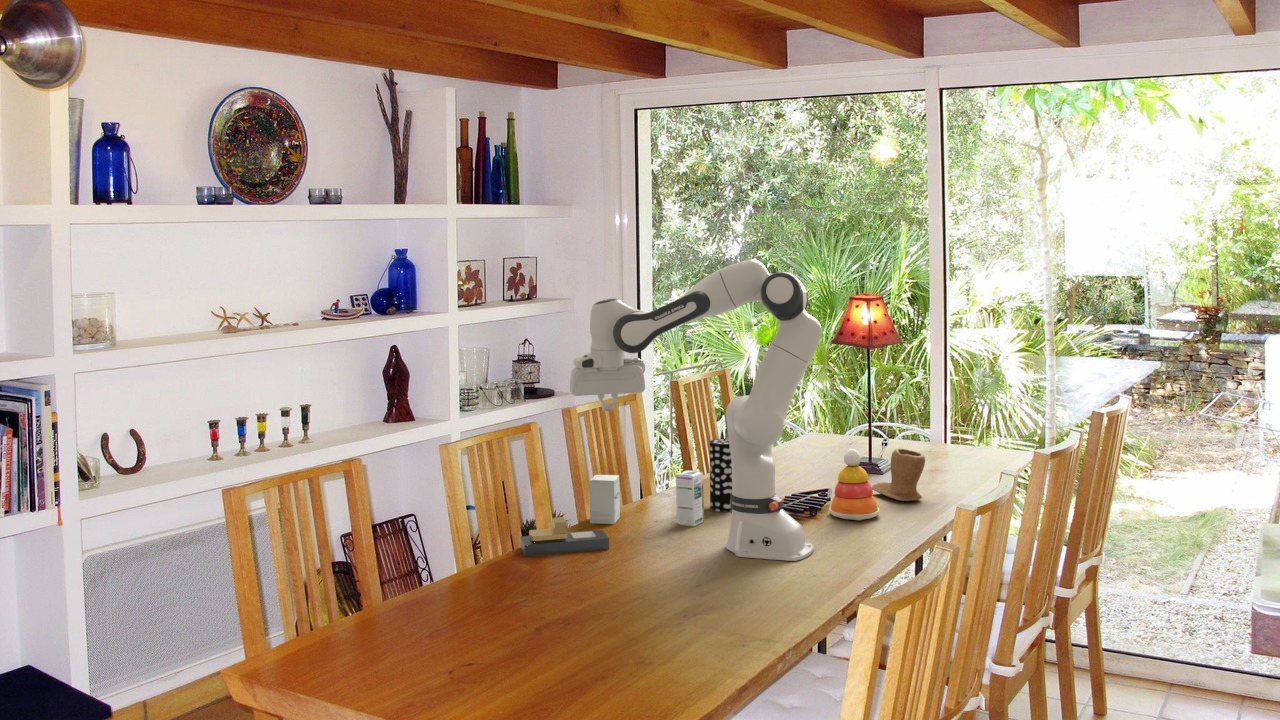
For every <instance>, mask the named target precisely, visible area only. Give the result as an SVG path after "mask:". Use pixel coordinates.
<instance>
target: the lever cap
mask: <svg viewBox="0 0 1280 720" xmlns="http://www.w3.org/2000/svg"><path fill="white" fill-rule="evenodd" d="M567 524H568V523H567V521H566V519H565V518H564V517H563V516H559V517H558V516H557V517H551V526H552V527H551V528H541V529H539V528H538V529H528V530H529V532H528V533H529V535H528V536H530V537H531V539H532V541H540V540H552V539H564V538H567V533H568V531H567V530H568V528H567V527H568V525H567Z"/></svg>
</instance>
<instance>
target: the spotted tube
mask: <svg viewBox="0 0 1280 720" xmlns="http://www.w3.org/2000/svg"><path fill="white" fill-rule="evenodd" d="M731 493H732V461H731V453H730V446H729V438H716V439H711V440H709V506H710V507H709V509H711V510H712V511H714V512H720V513H721V512H722V513H725V512H731V511H730V498H731Z"/></svg>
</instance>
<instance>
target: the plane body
mask: <svg viewBox="0 0 1280 720" xmlns="http://www.w3.org/2000/svg"><path fill="white" fill-rule="evenodd" d="M534 542H535V543H534ZM527 545H528V546H527ZM520 550H521V551H523V552H522V554H523V553H524V554H523V556H524V557H525V556H526V557H536V556H537V555H538V556H547V555H549V556H550V555H557V554H556V553H561V554H571V553H570V552H573V553H582V552H584V553H585V552H594V551H595V552H596V551H605V550H606V551H607V550H610V538H609V536H608V535H607V534H606V532H605V531H604V530H603V529H600V530H586V531H574V532H567V538H564V539H552V540H540V541H532V539H531V537H530V535H526V536H525V535H524V536H520ZM538 556H537V557H538Z"/></svg>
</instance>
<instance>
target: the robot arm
mask: <svg viewBox="0 0 1280 720" xmlns="http://www.w3.org/2000/svg"><path fill="white" fill-rule="evenodd" d="M808 297H809V296H808V294H807V290H806V287H805V286H804V284H803V283H802V281H801V280H800V279H799V278H798V277H797V276H796V275H795V274H793V273H791V272H788V271H776V272H774V273H772V274H770V272H769V270H768V269H767V267H766V266H765V265H764V263H762V261H761V260H758V259H755V258H749V259H746V260H742V261H739V262H736V263H732V264H730V265H727V266H725V267H722V268H720V269H717V270H716V271H714V272H712V273H710V274H708V275H707V276H705V277H703V278H702V279H701V280H699V281H698V282H697V283H695V285H693V286H692V287H691V288H690V289H689V290H688V291H687V292H685V293H684V294H683V295H681V296H680V297H679V298H677V299H675V300H674V301H671V302H669V303H667V304H665V305H662V306H661V307H658V308H656V309H654V310H651V311H649V312H648V311H644V310H641V309H637V308H635V307H633V306H630V305H628V304H626V303H624V302H623V301H622V300H621V299H619V298H607V299H603V300H599V301H597V302H595V303H594V304H593V305H592V307H591V311H590V318H589V319H590V320H589V333H590V337H591V342H590V343H591V344H590V352H589V353H586V354H584V355H581V356H577V357H576V358H574V359H573V365H574V367H573V369H572V370H571V373H570V378H569V379H570V380H569V392H570V394H571V395H572V396H574V397H577V396H597V398H598V401H599V402H600V404H601V410H602V411H603V412H612V411H613V412H614V411H615V403H616V402H617V400H618V398H619V397H618V395H619V394H639V393H640V394H641V393H643V392H644V391H645V390H646V381H645V380H646V379H645V375H644V374H645V371H646V363H645V361H643V359H640V358H637V357H635V358H624V352H625V353H627V354H637V353H640V352H642V351H644V350H645V349H647V347H648V346H649V345H650V344H651V343H653V342H654V341H655V340H656V338H657V337H658V336H660V335H662V334H664V333H666V332H668V331H671V330H673V329H675V328H676V327H679V326H682V325H683V324H685V323H688V322H691V321H694V320H695V321H696V320H699V319H703V318H704V319H706V318H710V317H715V316H718V315H722V314H724V313H725V314H726V313H728V312H731V311H734V310H735V309H738V308H740V307H743V306H744V305H747V304H749V303H752V302H759V303H762V305H763V306H764V307H765V309H766V311H768V313H769V314H770V315H772V316H773V317H775V319H777V320H778V323H779V326H778V330H777V331H776V334H775V336H774V338H773V339H772V341H771V343H770V344H769V347H768V348H767V351H766V352H765V354H764V356H763V357H762V359H761V361H760V363H759V365H758V367H757V369H756V370H755V377H754V381H753V384H752V386H751V389H750V393H749V394H748V395H740V396H737V397H735V398H733V399H732V400H731V401H730V402H729V403H728V405H727V406H726V409H725V418H726V420H725V421H726V426H727V437H728V438H727V439H729V446H730V453H731V461H732V493H731V498H730V511H729V512H730V514H731V517H730V518H731V519H730V527H729V533H728V538H727V542H726V544H725V548H726V550H728V551H730V552H732V553H733V554H734V555H735V556H736V557H739V558H749V559H752V558H753V559H763V560H775V561H786V562H787V561H788V562H789V561H790V562H793V561H794V562H795V561H800V560H803V559H805V558H807V557H810V555H812V554H813V552H814V544H813V543H811V542H808V541H807V542H806V537H805V531H804V528H803V526H802V524H800V522H798V521H797V520H796V519H794V518H793V517H792V516H791V515H789V514H788V512H786V511H785V510H784V509H783V503H784V502H785V497H783V496H782V497H781V498H780V497H779V496H778V495H777V494H776V463H775V459H774V457H773V456H774V455H773V451H772V450H773V449H772V445H774V444H776V443H777V442H778V441H779V440H780V438H781V437H782V434H783V432H784V422H785V419H786V417H787V414H788V411H789V409H790V408H789V407H790V405H791V402H792V399H793V396H794V393H795V391H796V389H797V387H798V386H799V384H800V382H801V380H802V378H803V376H804V374H805V372H806V371H807V369H808V367H809V365H810V363H811V361H812V359H813V358H814V355H815V353H816V352H817V351H816V350H817V348H818V346H819V344H820V340H821V337H822V334H823V328H822V327H823V326H822V325H821V323H820V322H819V320H818V319H816V317H814V316H812V315H811V314H809V313H808V312H807V309H808V304H809V298H808ZM605 395H610V397H611V398H612V399H611V401H610V403H609V402H608V403H605V401H604V400H603V399H605Z"/></svg>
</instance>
